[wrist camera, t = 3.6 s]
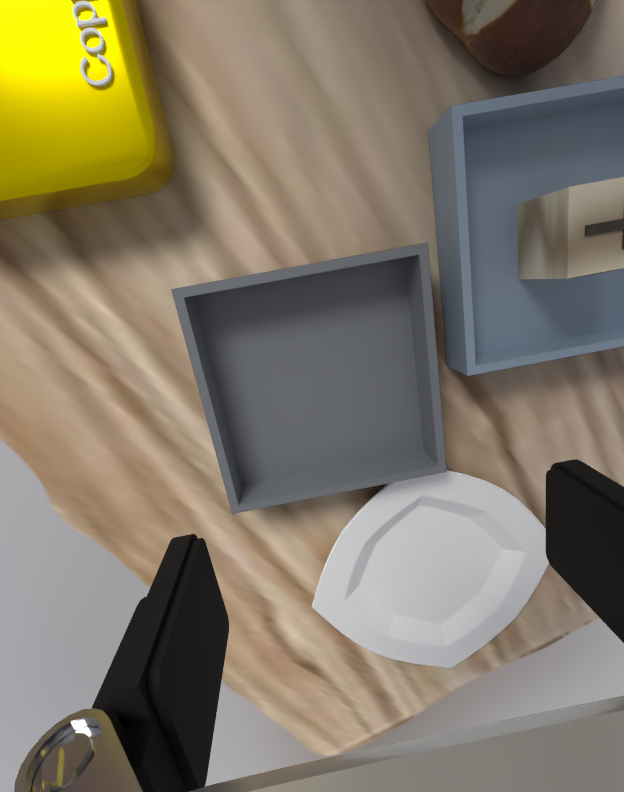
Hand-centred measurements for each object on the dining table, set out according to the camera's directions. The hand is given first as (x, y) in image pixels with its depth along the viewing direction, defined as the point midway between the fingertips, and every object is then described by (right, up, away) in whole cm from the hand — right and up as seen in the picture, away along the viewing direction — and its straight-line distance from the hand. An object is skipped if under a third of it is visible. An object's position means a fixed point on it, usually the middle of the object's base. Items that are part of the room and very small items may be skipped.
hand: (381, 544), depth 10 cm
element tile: (-19, +23, +13) cm, 33 cm away
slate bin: (+15, +15, +17) cm, 28 cm away
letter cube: (+15, +15, +17) cm, 27 cm away
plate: (+9, -11, +25) cm, 29 cm away
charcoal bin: (-1, +5, +19) cm, 20 cm away
